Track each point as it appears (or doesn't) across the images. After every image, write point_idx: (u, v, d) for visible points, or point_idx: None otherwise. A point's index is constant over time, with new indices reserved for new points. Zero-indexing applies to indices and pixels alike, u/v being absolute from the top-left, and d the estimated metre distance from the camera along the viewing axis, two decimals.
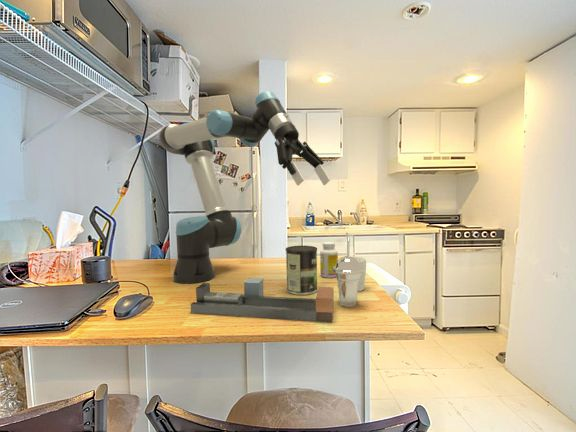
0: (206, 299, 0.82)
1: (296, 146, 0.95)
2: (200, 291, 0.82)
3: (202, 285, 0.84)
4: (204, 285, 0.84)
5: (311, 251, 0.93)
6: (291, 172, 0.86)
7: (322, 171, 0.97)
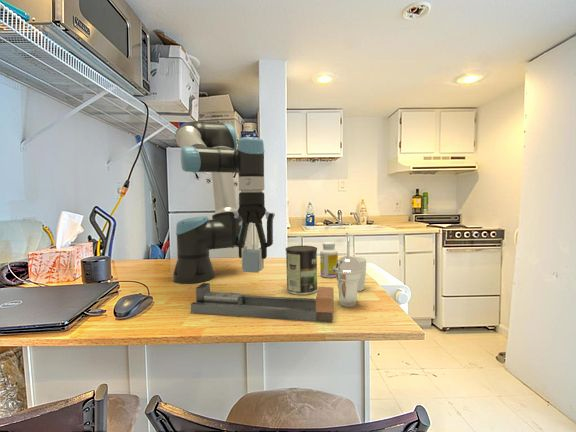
0: (206, 299, 0.82)
1: (250, 217, 0.87)
2: (200, 291, 0.82)
3: (202, 285, 0.84)
4: (204, 285, 0.84)
5: (311, 251, 0.93)
6: None
7: None
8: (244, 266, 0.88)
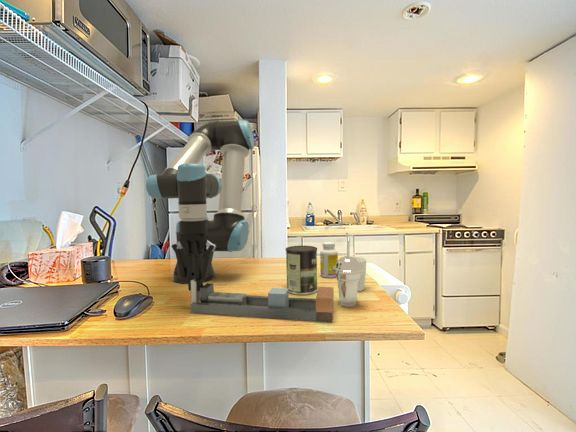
0: (210, 299, 0.82)
1: (191, 247, 0.83)
2: (204, 291, 0.82)
3: (206, 285, 0.84)
4: (208, 285, 0.84)
5: (311, 251, 0.93)
6: None
7: None
8: None
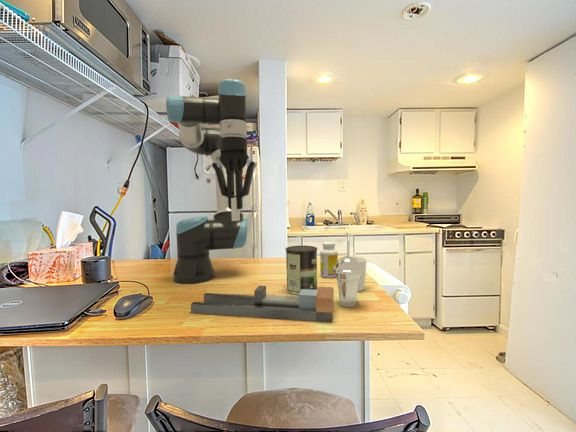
0: (265, 302, 0.79)
1: (232, 164, 0.84)
2: (259, 294, 0.79)
3: (259, 288, 0.81)
4: (261, 288, 0.81)
5: (311, 251, 0.93)
6: None
7: None
8: None
